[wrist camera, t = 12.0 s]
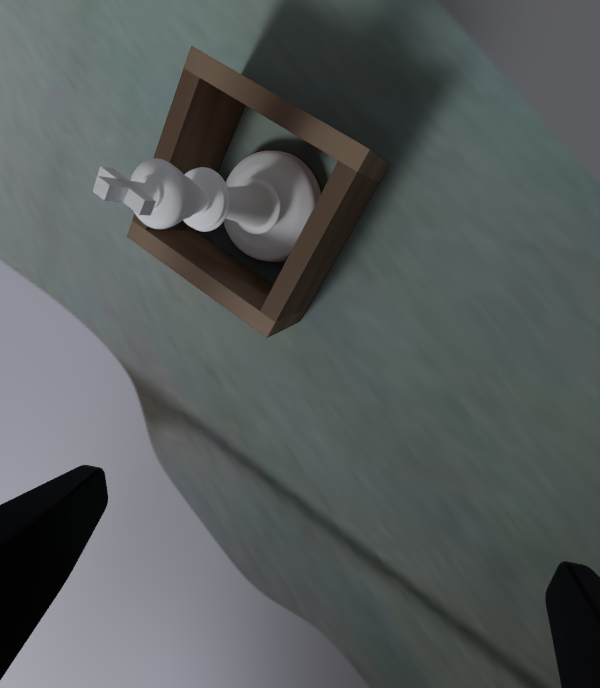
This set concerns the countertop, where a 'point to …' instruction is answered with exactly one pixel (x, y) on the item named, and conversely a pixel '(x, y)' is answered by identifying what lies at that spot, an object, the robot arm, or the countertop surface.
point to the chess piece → (223, 199)
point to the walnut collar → (208, 151)
